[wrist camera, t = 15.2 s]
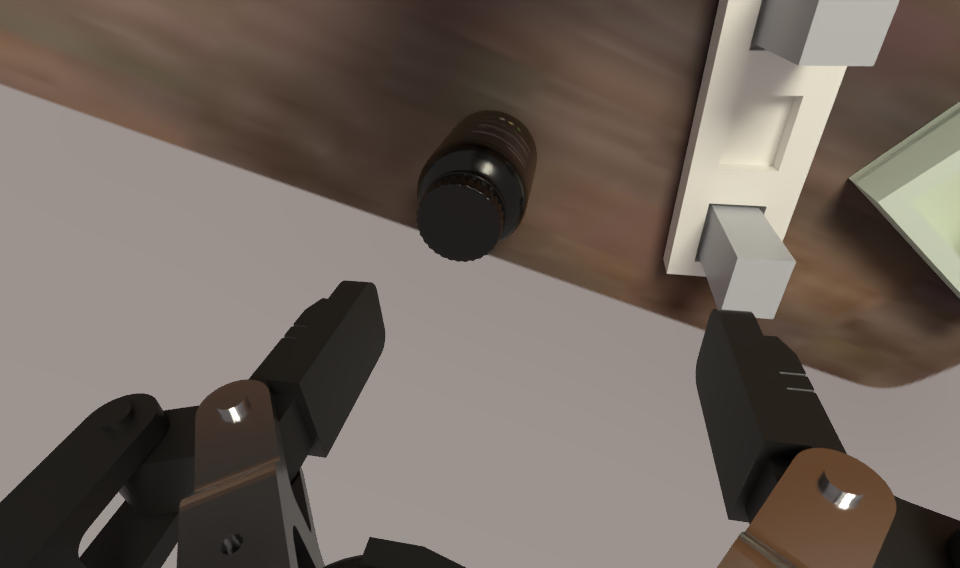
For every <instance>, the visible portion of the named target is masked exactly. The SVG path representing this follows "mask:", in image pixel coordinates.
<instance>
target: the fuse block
mask: <svg viewBox="0 0 960 568" xmlns="http://www.w3.org/2000/svg"><path fill="white" fill-rule="evenodd" d="M761 2H762V0H719V4H718V8H717V13H716V18H715V22H714V27H713V31H712V36H711V41H710V45H709V50H708V54H707V59H706V64H705V68H704V73H703V77H702V82H701V87H700V91H699V96H698V101H697V105H696V110H695V114H694V119H693V124H692V128H691V133H690V137H689V142H688V147H687V151H686V156H685V160H684V165H683V170H682V174H681V179H680V184H679V188H678V193H677V197H676V202H675V207H674V211H673V216H672V220H671V225H670V230H669V234H668V239H667V243H666V248H665V253H664V257H663V260H664V265H665V269H666V273H667V274H678V275H690V276H703V277H706V275H705V272H704V269H703V267H702V264H701V261H700V258H699V256H698V253H697V249H698V245H699V241H700V237H701V234H702V230H703V226H704V222H705V218H706V214H707V210H708V207H709V203H711V204H729V205H748V206H758V207H759V209H760V210H761V212H762V213H763V214H764V216H765V217H766V219H767V220H768V222H769V223H770V225H771V226H772V228H773V229H774V231H775V232H776V233H777V235H778V236H779V238H780V239H781V241H782V242H783V239H784V236H785V233H786V231H787V228H788V225H789V223H790V220H791V217H792V214H793V212H794V209H795V206H796V203H797V201H798V198H799V195H800V193H801V190H802V187H803V184H804V182H805V179H806V176H807V174H808V171H809V168H810V165H811V163H812V160H813V157H814V155H815V152H816V149H817V146H818V144H819V141H820V138H821V136H822V133H823V130H824V127H825V125H826V122H827V119H828V117H829V114H830V111H831V108H832V106H833V103H834V100H835V98H836V95H837V92H838V89H839V87H840V84H841V81H842V79H843V76H844V73H845V70H846V68H847V66H798V65H796V64H794V63H792V62H790V61H788V60H786V59H784V58H782V57H780V56H778V55H776V54H774V53H772V52H770V51H768V50H766V49H764V48H762V47H760V46H758V45H756V44H753V43H751V41H752V37H753V33H754V29H755V25H756V21H757V18H758V14H759V10H760V6H761Z"/></svg>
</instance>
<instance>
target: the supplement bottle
mask: <svg viewBox="0 0 960 568" xmlns="http://www.w3.org/2000/svg"><path fill="white" fill-rule="evenodd" d="M536 163H537V152H536V147H535V143H534V140H533V138H532V136H531V134H530V132H529V131H528V129H527V128H526V127H525V126H524V125H523V124H522V123H521V122H520V121H519V120H518V119H516V118H515V117H513V116H511V115H509V114H507V113H504V112H500V111H494V110H485V111H479V112H476V113H473V114H471V115H469V116H467V117H466V118H464V119H463V120H462V121H461V122H459V123H458V124H457V126H456V127H455V128H454V129H453V130H452V131H451V132H450V134H449V135H448V136H447V137H446V138H445V140H444V141H443V142H442V143H441V145H440V146H439V147H438V148H437V149H436V151H435V152H434V153H433V154H432V156H431V157H430V158H429V160H428V161H427V162H426V164H425V166H424V167H423V169H422V171H421V174H420V177H419V181H418V188H417V195H418V202H419V209H418V210H417V216H418V217H417V223H418V229H419V231H420V235H421V236H422V237H423V239H424V242H425V243H426V244H428V246H429V248H431V249H433V250H434V252H435V253H437V254H440V255H441V256H442V257H444V258H448V259H449V260H455V261H458V262H459V261H464V262H467V261H469V260H471V261H474V260H475V259H479V258H481V257H483V256H484V255H487V254H488V253H489V251H491V250H493V249H494V246H495V245H496V244H497V243H499V242H501V241H503V240H505V239H506V238H508V237H509V236H510V235H511V234H512V233H513V232H514V231H515V230H516V229H517V227H518V226H519V224H520V223H521V221H522V219H523V216H524V214H525V211H526V207H527V203H528V199H529V195H530V191H531V186H532V182H533V178H534V174H535V169H536Z"/></svg>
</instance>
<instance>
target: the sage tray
mask: <svg viewBox="0 0 960 568" xmlns="http://www.w3.org/2000/svg"><path fill="white" fill-rule="evenodd" d="M849 179H850V180H851V181H852V182H853V183H854V184H855V186H856V187H857V188H858V189H859V190H860V191H861V192H862V193H863V194H864V195H865V196H866V198H867V199H868V200H869V201H870V202H871V203H872V204H873V205H874V206H875V207H876V208H877V210H878V211H879V212H880V213H881V214H882V215H883V216H884V217H885V218H886V219H887V220H888V222H889V223H890V224H891V225H892V226H893V227H894V228H895V229H896V230H897V231H898V232H899V234H900V235H901V236H902V237H903V238H904V239H905V240H906V241H907V242H908V243H909V244H910V246H911V247H912V248H913V249H914V250H915V251H916V252H917V253H918V254H919V255H920V256H921V258H922V259H923V260H924V261H925V262H926V263H927V264H928V265H929V266H930V267H931V269H932V270H933V271H934V272H935V273H936V274H937V275H938V276H939V277H940V278H941V279H942V281H943V282H944V283H945V284H946V285H947V286H948V287H949V288H950V289H951V290H952V291H953V293H954V294H955V295H956V296H957V297H958V298H959V299H960V102H958V103H957V104H956V105H954V106H953V107H951V108H950V109H948V110H947V111H945V112H944V113H942V114H941V115H940V116H938V117H937V118H935V119H934V120H932V121H931V122H929V123H928V124H926V125H925V126H923V127H922V128H921V129H919V130H918V131H916V132H915V133H913V134H912V135H910V136H909V137H907V138H906V139H905V140H903V141H902V142H900V143H899V144H897V145H896V146H894V147H893V148H891V149H890V150H888V151H887V152H886V153H884V154H883V155H881V156H880V157H878V158H877V159H875V160H874V161H872V162H871V163H870V164H868V165H867V166H865V167H864V168H862V169H861V170H859V171H858V172H856V173H855V174H853V175H852V176H851V177H849Z"/></svg>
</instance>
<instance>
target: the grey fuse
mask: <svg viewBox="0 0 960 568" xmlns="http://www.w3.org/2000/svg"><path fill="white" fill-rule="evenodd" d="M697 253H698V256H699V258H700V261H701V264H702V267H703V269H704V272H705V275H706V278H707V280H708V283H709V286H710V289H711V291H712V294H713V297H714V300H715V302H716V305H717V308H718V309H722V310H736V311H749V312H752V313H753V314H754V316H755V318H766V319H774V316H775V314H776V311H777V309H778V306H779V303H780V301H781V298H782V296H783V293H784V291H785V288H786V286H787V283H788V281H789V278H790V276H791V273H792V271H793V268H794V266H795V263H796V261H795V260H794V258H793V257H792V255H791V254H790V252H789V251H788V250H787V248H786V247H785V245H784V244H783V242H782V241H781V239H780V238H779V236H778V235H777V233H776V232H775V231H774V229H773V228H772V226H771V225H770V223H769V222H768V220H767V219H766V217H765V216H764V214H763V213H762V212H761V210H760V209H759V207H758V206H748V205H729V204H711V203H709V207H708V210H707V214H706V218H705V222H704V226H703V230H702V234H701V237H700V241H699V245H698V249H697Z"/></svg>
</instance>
